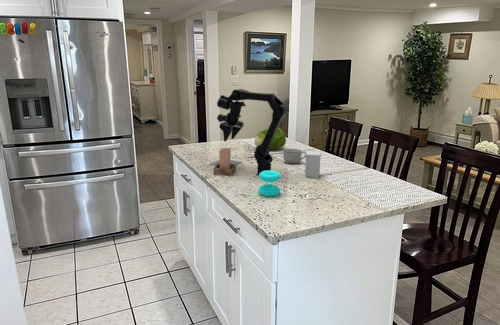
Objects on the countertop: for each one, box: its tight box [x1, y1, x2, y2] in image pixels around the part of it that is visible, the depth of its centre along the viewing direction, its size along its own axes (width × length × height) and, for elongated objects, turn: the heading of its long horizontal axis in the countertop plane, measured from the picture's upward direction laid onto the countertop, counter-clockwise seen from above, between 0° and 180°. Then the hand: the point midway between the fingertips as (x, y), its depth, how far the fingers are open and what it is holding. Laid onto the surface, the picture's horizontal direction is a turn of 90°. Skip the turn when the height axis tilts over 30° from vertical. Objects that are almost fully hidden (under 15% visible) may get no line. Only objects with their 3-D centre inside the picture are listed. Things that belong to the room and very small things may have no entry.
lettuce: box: [254, 127, 287, 151], centre depth 255 cm, size 16×21×15 cm
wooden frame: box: [213, 163, 237, 177], centre depth 203 cm, size 10×10×4 cm
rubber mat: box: [209, 159, 243, 167], centre depth 221 cm, size 14×14×1 cm
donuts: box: [258, 169, 282, 197], centre depth 172 cm, size 10×10×10 cm
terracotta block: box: [219, 147, 231, 169], centre depth 202 cm, size 5×5×13 cm
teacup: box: [282, 148, 307, 165], centre depth 224 cm, size 14×11×8 cm
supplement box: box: [304, 150, 322, 179], centre depth 199 cm, size 7×7×13 cm
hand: (228, 139), depth 205 cm, fingers open, 9 cm apart
